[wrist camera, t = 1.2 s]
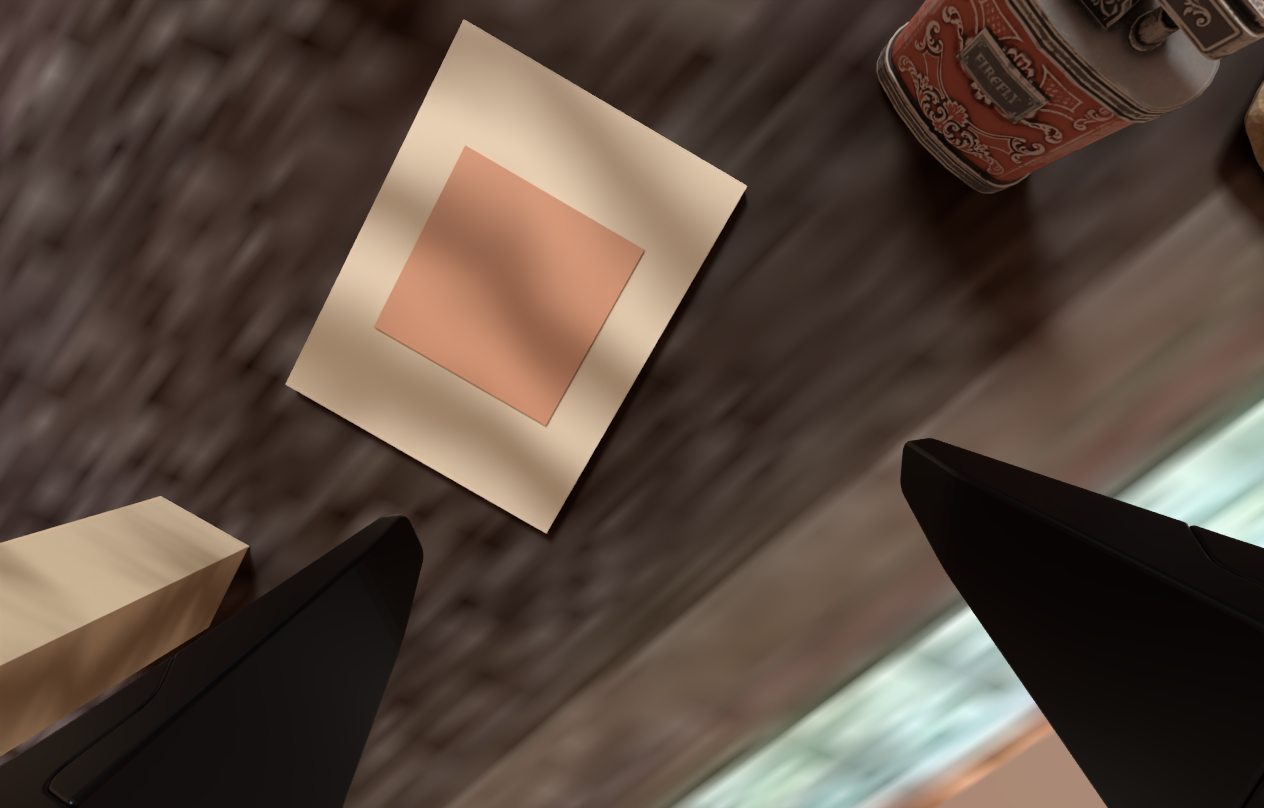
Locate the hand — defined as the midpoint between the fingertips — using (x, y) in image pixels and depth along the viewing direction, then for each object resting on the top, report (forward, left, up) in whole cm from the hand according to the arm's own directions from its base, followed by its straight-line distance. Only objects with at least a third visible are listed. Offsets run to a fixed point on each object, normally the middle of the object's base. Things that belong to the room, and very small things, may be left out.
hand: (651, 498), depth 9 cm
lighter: (+17, -5, -15) cm, 23 cm away
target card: (+1, +8, -14) cm, 17 cm away
